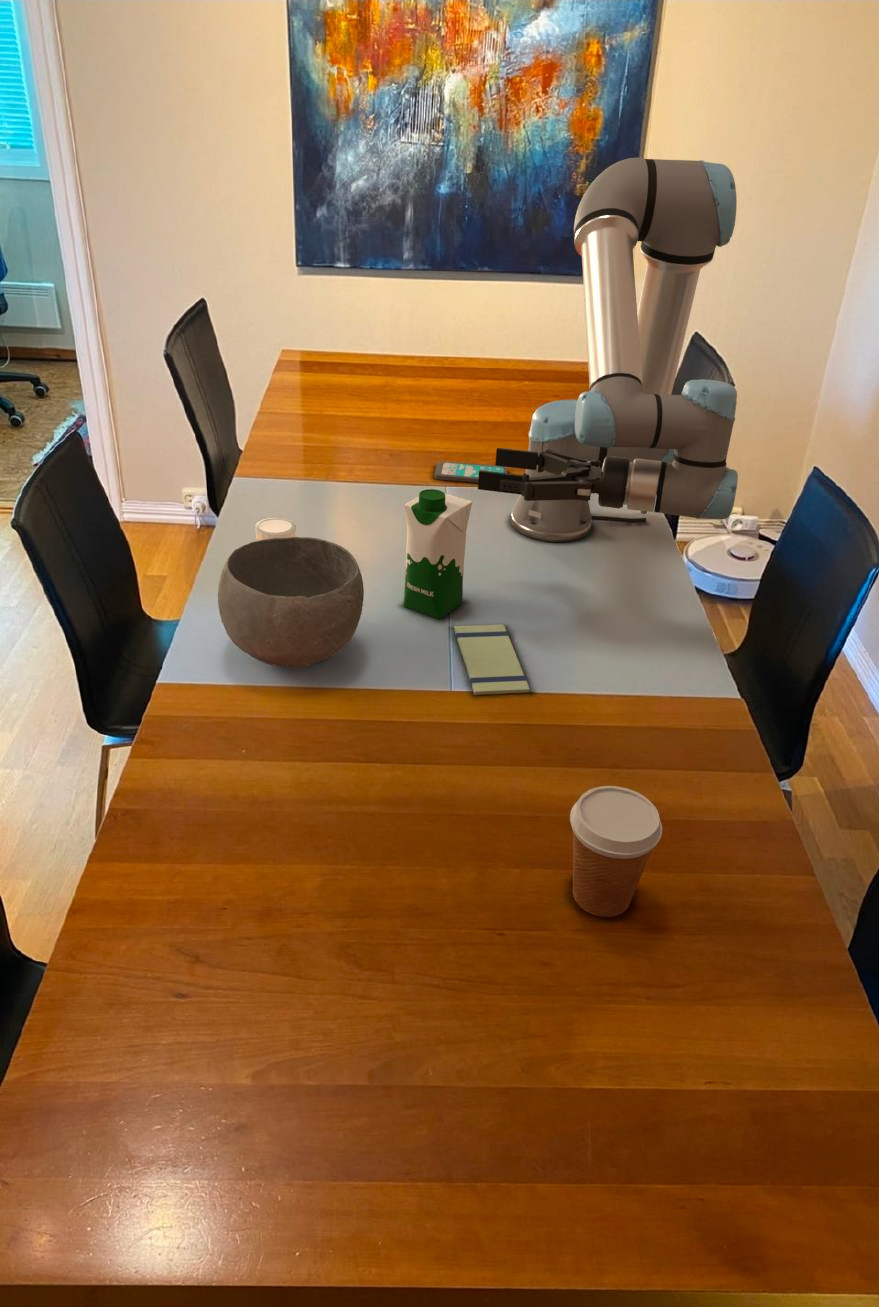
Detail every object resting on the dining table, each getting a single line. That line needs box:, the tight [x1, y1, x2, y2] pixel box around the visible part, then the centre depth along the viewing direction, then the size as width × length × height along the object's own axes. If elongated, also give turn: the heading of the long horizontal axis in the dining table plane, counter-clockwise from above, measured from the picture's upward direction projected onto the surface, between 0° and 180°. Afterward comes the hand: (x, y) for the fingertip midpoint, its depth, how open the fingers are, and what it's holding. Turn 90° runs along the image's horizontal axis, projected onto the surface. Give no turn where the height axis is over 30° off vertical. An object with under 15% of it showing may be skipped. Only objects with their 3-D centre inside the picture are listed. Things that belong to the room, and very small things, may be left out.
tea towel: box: [453, 623, 531, 696], centre depth 147 cm, size 8×18×1 cm, turn 9°
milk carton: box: [403, 488, 473, 620], centre depth 155 cm, size 9×9×20 cm
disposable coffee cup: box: [569, 785, 663, 918], centre depth 105 cm, size 10×10×12 cm
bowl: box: [217, 536, 365, 668], centre depth 142 cm, size 20×20×15 cm
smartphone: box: [433, 461, 508, 484], centre depth 207 cm, size 9×1×15 cm
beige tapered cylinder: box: [254, 517, 297, 541], centre depth 168 cm, size 7×7×7 cm
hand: (487, 467), depth 150 cm, fingers open, 13 cm apart
